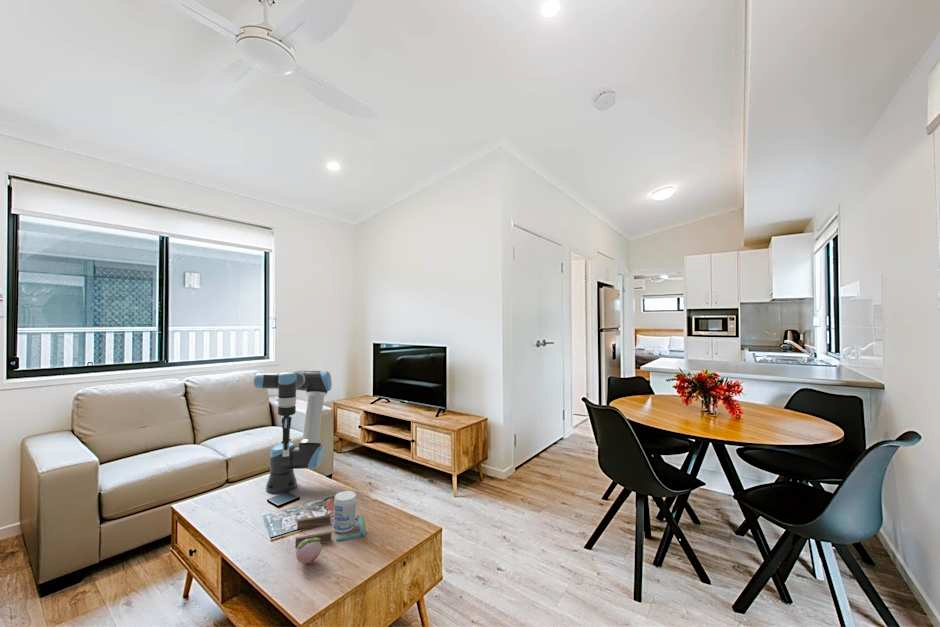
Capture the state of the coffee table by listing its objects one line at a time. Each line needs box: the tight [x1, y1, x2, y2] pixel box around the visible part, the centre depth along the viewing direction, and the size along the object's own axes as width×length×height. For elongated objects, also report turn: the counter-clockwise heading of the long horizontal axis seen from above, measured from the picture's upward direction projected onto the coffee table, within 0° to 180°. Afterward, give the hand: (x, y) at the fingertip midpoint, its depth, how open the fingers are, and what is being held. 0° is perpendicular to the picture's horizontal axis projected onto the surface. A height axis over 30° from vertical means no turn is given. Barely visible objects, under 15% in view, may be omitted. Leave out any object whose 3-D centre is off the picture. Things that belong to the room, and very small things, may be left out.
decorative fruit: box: [295, 537, 322, 565], centre depth 151 cm, size 9×8×10 cm
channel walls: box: [294, 514, 333, 549], centre depth 171 cm, size 16×14×4 cm
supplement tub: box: [332, 490, 357, 534], centre depth 176 cm, size 10×10×15 cm
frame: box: [335, 514, 366, 542], centre depth 176 cm, size 17×12×1 cm
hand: (285, 455), depth 182 cm, fingers closed
